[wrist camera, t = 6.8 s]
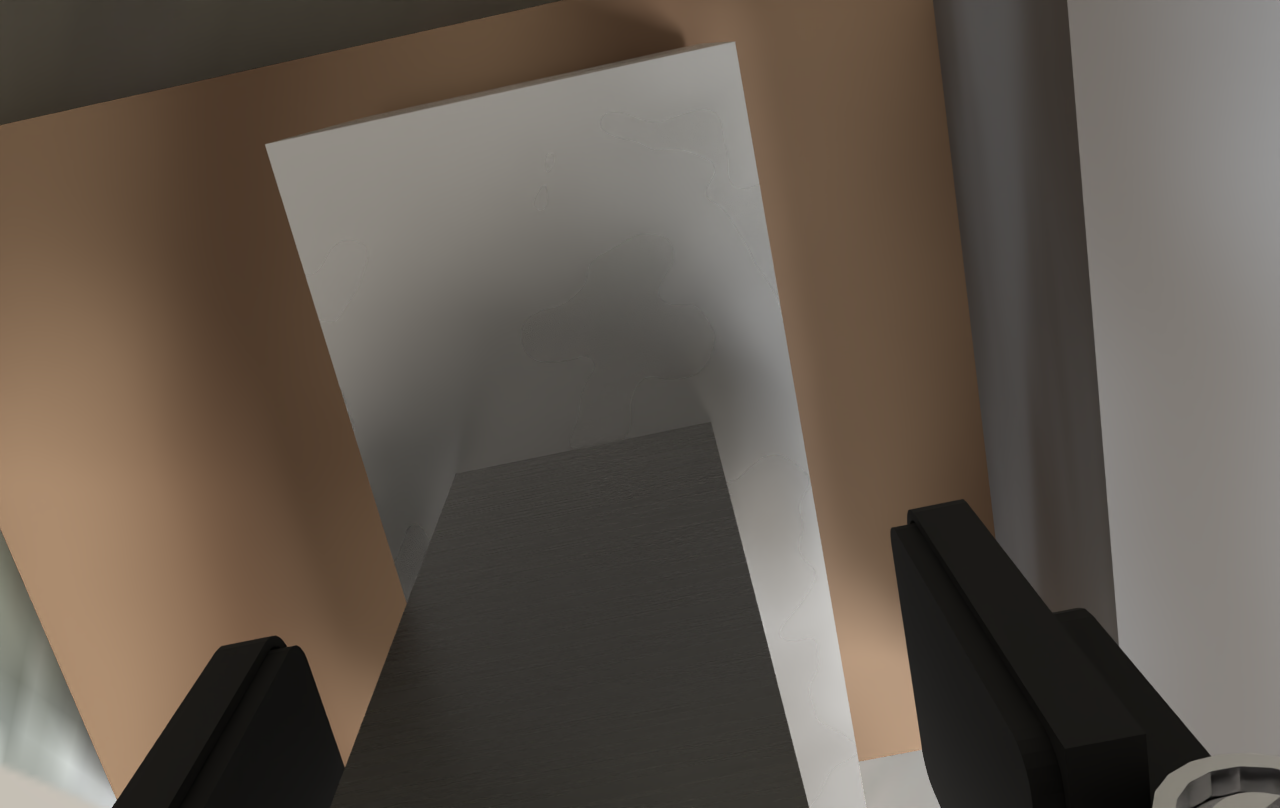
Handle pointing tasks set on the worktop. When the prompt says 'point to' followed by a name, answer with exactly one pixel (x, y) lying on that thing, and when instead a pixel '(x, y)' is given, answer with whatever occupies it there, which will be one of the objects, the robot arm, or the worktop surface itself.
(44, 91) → the worktop surface
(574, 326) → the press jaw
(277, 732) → the robot arm
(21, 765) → the worktop surface
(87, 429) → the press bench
